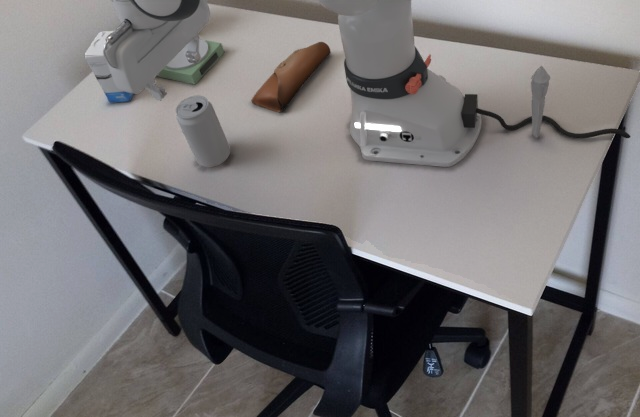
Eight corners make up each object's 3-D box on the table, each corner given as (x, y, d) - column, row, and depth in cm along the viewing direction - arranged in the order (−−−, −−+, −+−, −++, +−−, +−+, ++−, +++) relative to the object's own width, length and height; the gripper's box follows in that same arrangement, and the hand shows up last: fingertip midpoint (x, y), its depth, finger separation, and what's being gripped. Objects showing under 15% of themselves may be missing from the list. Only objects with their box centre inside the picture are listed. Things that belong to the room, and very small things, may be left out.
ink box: (130, 102, 132) (105, 54, 124) (108, 103, 133) (82, 56, 125) (143, 75, 138) (120, 28, 129) (122, 77, 139) (98, 30, 130)
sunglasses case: (296, 47, 133) (304, 25, 127) (324, 66, 132) (334, 46, 127) (248, 103, 124) (254, 82, 118) (278, 123, 124) (286, 104, 118)
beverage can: (226, 169, 113) (203, 118, 104) (192, 169, 115) (168, 119, 106) (235, 144, 117) (215, 92, 108) (203, 144, 119) (180, 93, 110)
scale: (225, 52, 137) (221, 40, 135) (196, 84, 132) (191, 73, 130) (184, 45, 142) (180, 33, 140) (154, 76, 137) (149, 64, 135)
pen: (535, 128, 106) (540, 58, 95) (548, 136, 104) (555, 65, 94) (524, 136, 105) (528, 66, 95) (537, 144, 103) (542, 74, 93)
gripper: (116, 48, 86) (154, 125, 96) (202, -33, 97) (228, 44, 107) (82, 41, 89) (123, 116, 99) (169, -37, 99) (198, 38, 110)
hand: (178, 78), depth 103 cm, fingers open, 8 cm apart
